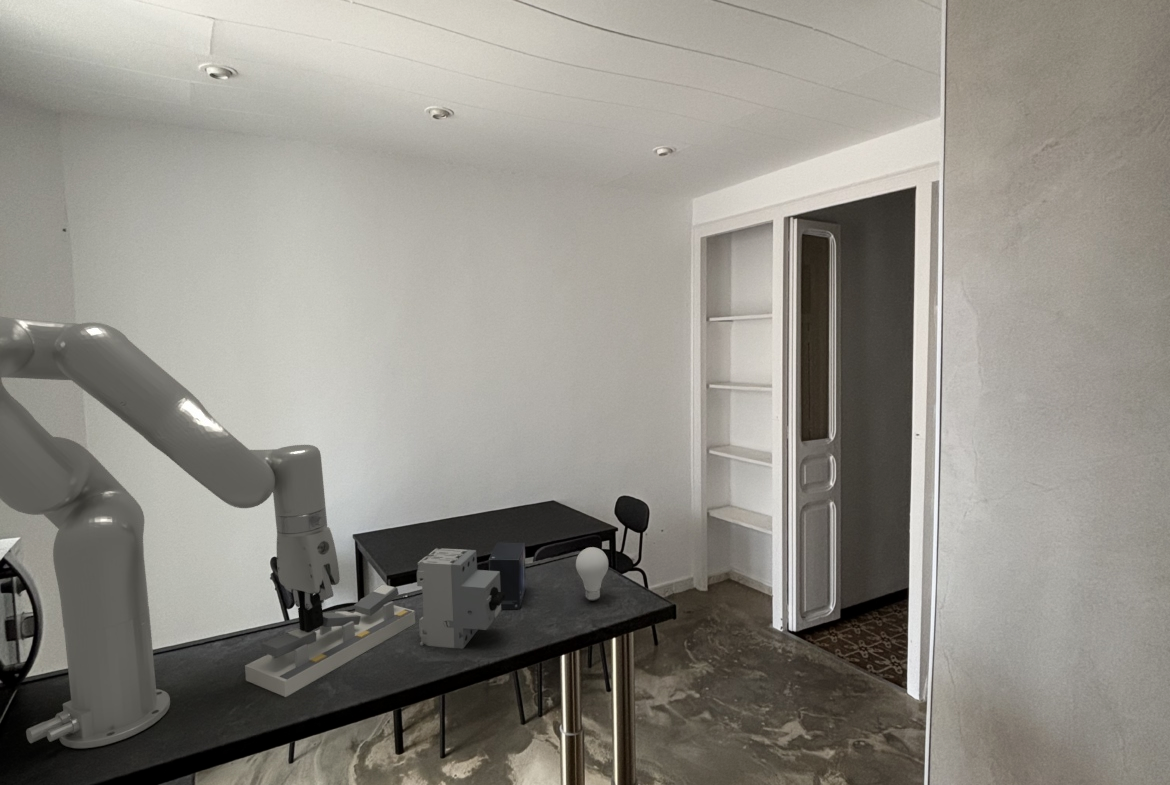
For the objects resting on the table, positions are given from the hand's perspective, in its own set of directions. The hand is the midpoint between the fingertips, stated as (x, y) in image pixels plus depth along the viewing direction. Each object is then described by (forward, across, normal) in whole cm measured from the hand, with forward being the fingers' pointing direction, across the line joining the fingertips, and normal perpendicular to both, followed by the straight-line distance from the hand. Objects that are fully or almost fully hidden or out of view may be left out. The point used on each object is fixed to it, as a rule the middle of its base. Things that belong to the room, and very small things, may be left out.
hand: (312, 627), depth 102 cm
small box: (+8, -14, -35) cm, 39 cm away
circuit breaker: (+7, -17, -18) cm, 26 cm away
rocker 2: (+1, 0, -5) cm, 5 cm away
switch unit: (+6, 0, -5) cm, 8 cm away
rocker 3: (+1, 0, -14) cm, 14 cm away
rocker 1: (+1, 0, +4) cm, 4 cm away
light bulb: (+8, -30, -42) cm, 53 cm away
